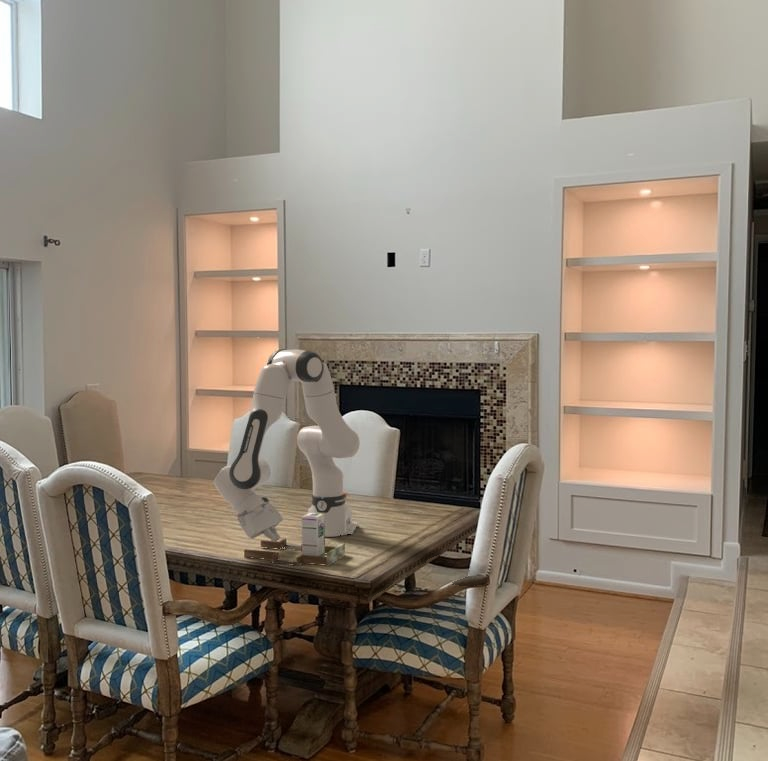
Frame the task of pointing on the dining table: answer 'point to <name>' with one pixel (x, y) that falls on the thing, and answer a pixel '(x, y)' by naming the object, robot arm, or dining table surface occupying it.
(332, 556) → the trap lane
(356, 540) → the dining table surface
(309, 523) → the syrup box
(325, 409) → the robot arm
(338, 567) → the dining table surface
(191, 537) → the dining table surface
